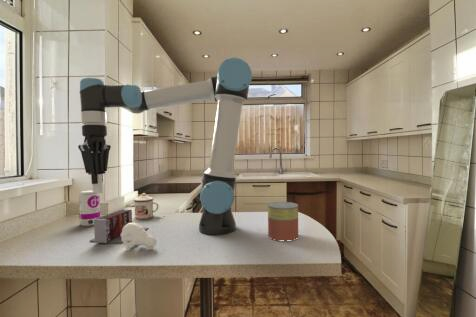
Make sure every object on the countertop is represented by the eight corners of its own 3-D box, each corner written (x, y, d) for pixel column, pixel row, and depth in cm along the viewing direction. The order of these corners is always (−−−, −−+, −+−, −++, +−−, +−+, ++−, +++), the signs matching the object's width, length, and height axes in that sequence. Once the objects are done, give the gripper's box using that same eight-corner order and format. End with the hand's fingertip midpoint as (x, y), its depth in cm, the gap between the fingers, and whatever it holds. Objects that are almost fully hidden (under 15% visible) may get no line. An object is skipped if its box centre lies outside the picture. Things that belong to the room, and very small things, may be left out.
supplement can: (104, 222, 123) (103, 190, 123) (85, 227, 116) (84, 193, 116) (94, 220, 128) (93, 189, 127) (76, 224, 121) (75, 191, 120)
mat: (148, 228, 113) (148, 227, 113) (121, 243, 95) (121, 242, 95) (121, 227, 115) (121, 226, 115) (89, 241, 98) (89, 240, 98)
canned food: (305, 238, 98) (304, 205, 98) (281, 244, 92) (280, 209, 92) (284, 230, 108) (284, 200, 108) (262, 235, 102) (261, 204, 102)
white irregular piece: (131, 219, 94) (161, 224, 91) (130, 243, 95) (160, 249, 92) (119, 224, 88) (150, 230, 85) (117, 249, 89) (149, 256, 85)
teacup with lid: (131, 219, 130) (130, 195, 129) (139, 214, 139) (138, 192, 139) (155, 219, 129) (154, 195, 128) (162, 214, 138) (161, 192, 138)
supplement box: (105, 219, 94) (132, 209, 109) (93, 219, 95) (121, 208, 110) (106, 244, 94) (133, 230, 110) (94, 243, 95) (122, 229, 111)
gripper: (98, 126, 100) (101, 190, 100) (69, 123, 87) (73, 196, 88) (116, 125, 98) (119, 190, 99) (89, 122, 85) (93, 196, 86)
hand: (97, 192), depth 93 cm, fingers closed
